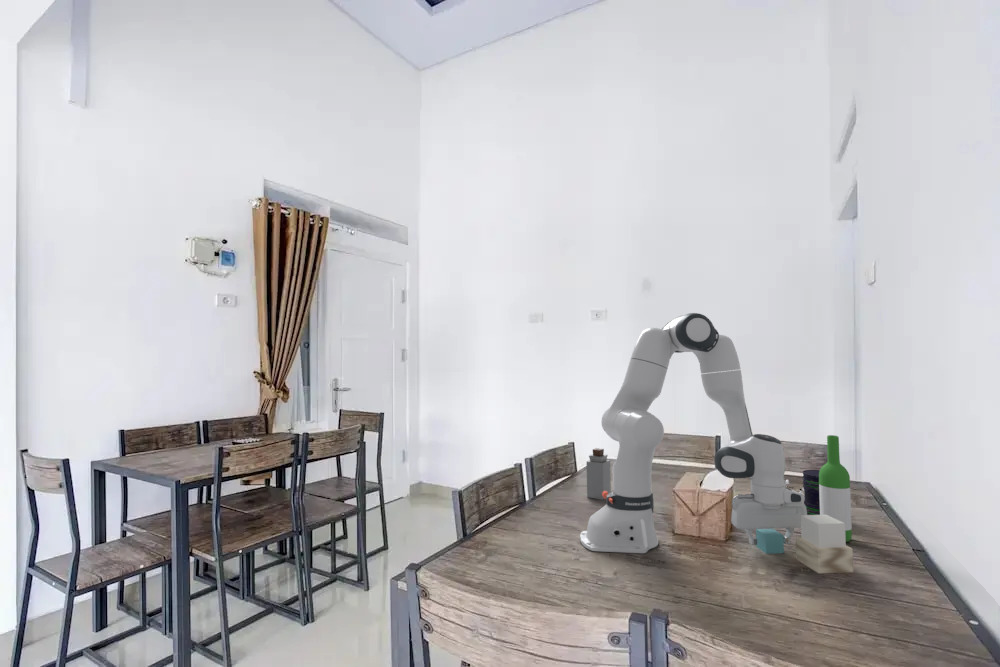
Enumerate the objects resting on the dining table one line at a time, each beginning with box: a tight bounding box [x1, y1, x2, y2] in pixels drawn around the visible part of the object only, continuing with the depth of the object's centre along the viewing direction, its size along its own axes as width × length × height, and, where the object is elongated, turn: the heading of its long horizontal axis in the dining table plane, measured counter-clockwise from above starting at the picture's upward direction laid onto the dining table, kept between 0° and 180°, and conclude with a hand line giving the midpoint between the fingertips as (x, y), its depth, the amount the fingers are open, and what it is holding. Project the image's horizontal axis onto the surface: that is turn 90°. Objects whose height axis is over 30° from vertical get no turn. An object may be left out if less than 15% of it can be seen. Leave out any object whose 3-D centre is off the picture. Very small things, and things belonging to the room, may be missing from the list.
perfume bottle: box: [586, 447, 612, 501], centre depth 200 cm, size 7×7×18 cm
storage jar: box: [802, 469, 820, 515], centre depth 170 cm, size 10×10×15 cm
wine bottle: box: [819, 434, 853, 543], centre depth 153 cm, size 8×8×30 cm
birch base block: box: [795, 536, 854, 574], centre depth 134 cm, size 9×9×6 cm
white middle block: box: [800, 515, 847, 548], centre depth 134 cm, size 7×7×6 cm
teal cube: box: [755, 528, 785, 555], centre depth 145 cm, size 5×5×5 cm
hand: (769, 543), depth 145 cm, fingers open, 8 cm apart
